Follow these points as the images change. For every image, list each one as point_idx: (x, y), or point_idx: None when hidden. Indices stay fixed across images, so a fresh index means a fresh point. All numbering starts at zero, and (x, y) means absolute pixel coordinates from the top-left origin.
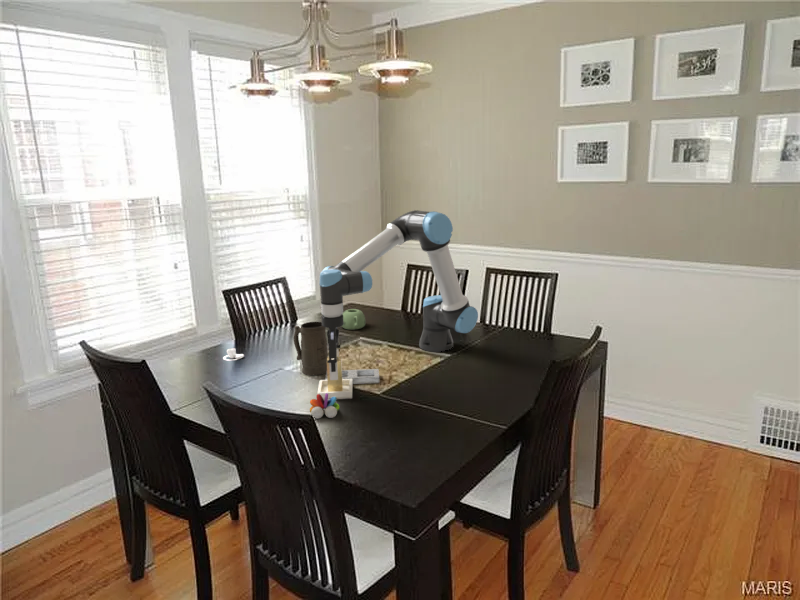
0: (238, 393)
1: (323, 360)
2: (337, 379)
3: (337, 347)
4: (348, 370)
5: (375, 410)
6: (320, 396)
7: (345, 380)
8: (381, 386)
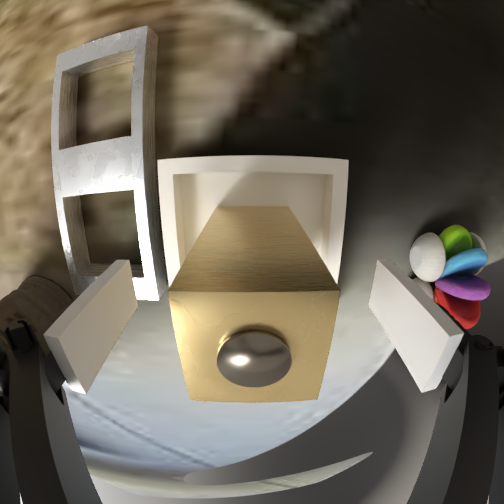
0: (235, 458)
1: (33, 319)
2: (390, 262)
3: (41, 352)
4: (59, 194)
5: (442, 87)
6: (465, 313)
7: (174, 197)
8: (202, 24)
